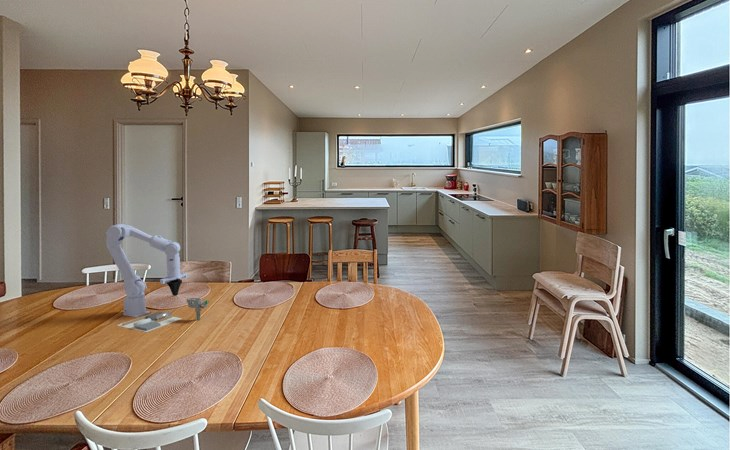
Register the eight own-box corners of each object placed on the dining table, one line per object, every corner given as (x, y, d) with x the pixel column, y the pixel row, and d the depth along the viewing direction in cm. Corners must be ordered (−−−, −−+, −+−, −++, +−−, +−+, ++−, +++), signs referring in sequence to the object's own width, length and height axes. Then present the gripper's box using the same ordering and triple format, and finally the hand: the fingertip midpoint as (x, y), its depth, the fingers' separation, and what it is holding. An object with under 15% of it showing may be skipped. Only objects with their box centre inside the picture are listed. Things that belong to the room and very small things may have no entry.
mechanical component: (206, 322, 197) (205, 300, 195) (186, 320, 199) (185, 299, 197) (210, 320, 200) (209, 299, 198) (190, 318, 202) (189, 297, 200)
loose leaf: (146, 318, 201) (146, 313, 200) (159, 313, 207) (159, 309, 207) (159, 320, 197) (158, 315, 197) (171, 316, 203) (171, 311, 203)
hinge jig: (116, 325, 191) (116, 320, 191) (153, 313, 209) (153, 307, 208) (146, 332, 184) (146, 326, 183) (182, 319, 201) (182, 313, 200)
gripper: (167, 271, 199) (168, 300, 201) (191, 265, 212) (192, 292, 214) (156, 269, 202) (157, 298, 204) (181, 264, 215) (182, 290, 217)
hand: (175, 295), depth 209 cm, fingers closed
